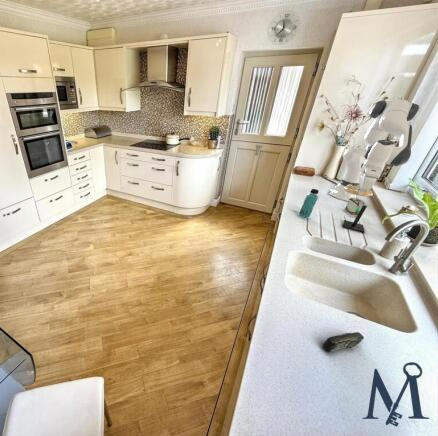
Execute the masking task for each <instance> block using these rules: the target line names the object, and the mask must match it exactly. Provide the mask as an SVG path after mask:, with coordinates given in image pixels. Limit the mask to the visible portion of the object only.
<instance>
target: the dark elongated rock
mask: <svg viewBox="0 0 438 436" xmlns="http://www.w3.org/2000/svg"><path fill="white" fill-rule="evenodd" d="M364 338H365V337H364V335H363V334H361V332H359V331H355V332H344V333H341V334H337V335H333V336H330V337H327V338H326V340H325V341H324V342H323V344H322V348H323V349H324V351H325V352H326V353H331V352H335V351H338V350H341V349H350V348H351V349H352V348H354V347H356V346H357V345H359V344H360V343H361V342H362V341H363V340H364Z"/></svg>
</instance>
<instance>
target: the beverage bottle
mask: <svg viewBox="0 0 438 436" xmlns="http://www.w3.org/2000/svg"><path fill="white" fill-rule="evenodd" d="M309 192H310V193H308V194H306V197H305V198H304V201H303V203H302V205H301V207H300V209H299V212H298V215H299V216H300V217H303V218H307V219H308V218H310V216H311V214H312V212H313V210H314V207H315V205H316V203H317V201H318V199H319V196H318V194H319V189H316V188H311V189H310V190H309Z"/></svg>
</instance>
